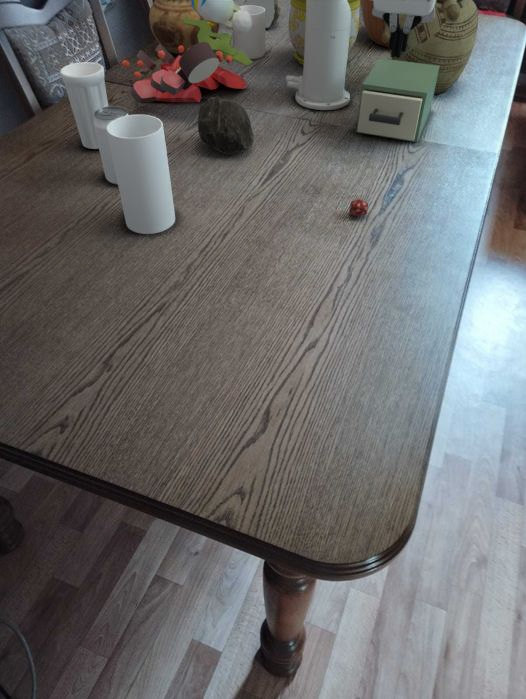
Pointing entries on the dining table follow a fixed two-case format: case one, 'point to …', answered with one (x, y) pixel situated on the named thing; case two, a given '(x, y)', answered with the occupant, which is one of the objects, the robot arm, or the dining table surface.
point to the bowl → (373, 23)
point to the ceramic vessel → (442, 40)
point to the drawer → (389, 114)
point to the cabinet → (404, 85)
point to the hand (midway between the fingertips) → (396, 55)
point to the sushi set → (196, 58)
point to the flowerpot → (299, 25)
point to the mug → (252, 34)
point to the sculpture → (267, 10)
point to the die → (358, 207)
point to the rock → (225, 126)
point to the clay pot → (175, 24)
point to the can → (100, 124)
